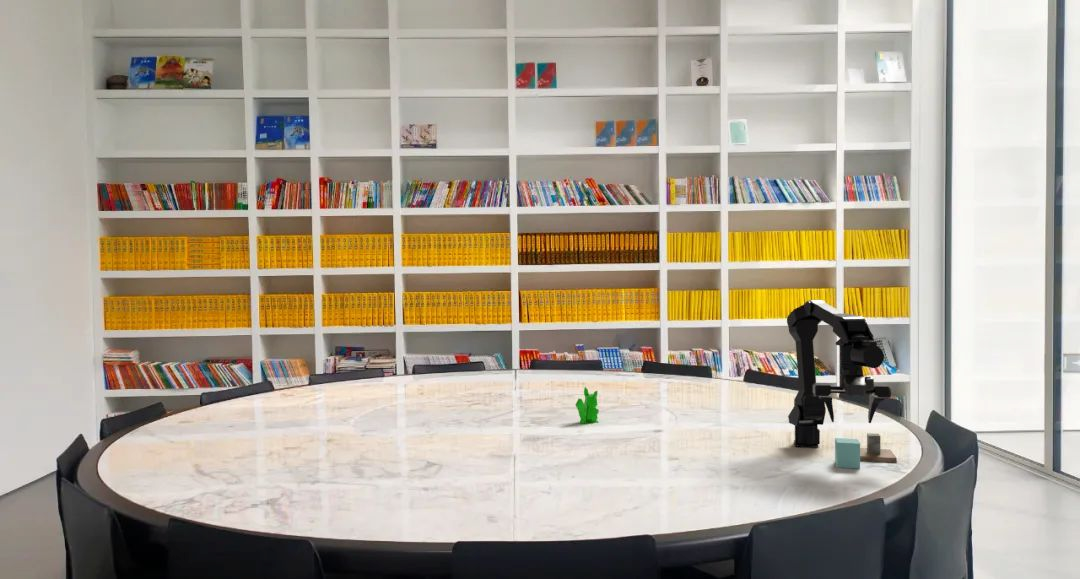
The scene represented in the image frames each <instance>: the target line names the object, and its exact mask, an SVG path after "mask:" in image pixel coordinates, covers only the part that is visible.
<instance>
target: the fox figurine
mask: <svg viewBox="0 0 1080 579" xmlns="http://www.w3.org/2000/svg"><path fill="white" fill-rule="evenodd" d="M583 396H584V400H583V399H582V398H578V399H577V401H576V403H575V407H576V409H577V411H578V416H579V417H580V418H579V419H580V420H579V423H580V425H585V424H588V423H589V424H590V423H591V424H593V423H594V424H595V423H599V421H598V418H599V417H598V414H599V411H600V409H598V408H597V406H598V405H599V403H598V390H596V391H594V392H593V393H590V394H589V391H588V388H587V387H586V386H584V390H583Z"/></svg>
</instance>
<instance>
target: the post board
mask: <svg viewBox="0 0 1080 579" xmlns="http://www.w3.org/2000/svg"><path fill="white" fill-rule="evenodd" d="M862 461H863V462H865V461H866V462H881V463H883V462H885V463H897V461H898V460H897V457H896V455H895V454H894V453H893V450H891V449H887V448H885V449H884V448H881V435H880V434H879V433H870V432H869V433H868V432H867V434H866V448H865V447H860V462H862Z"/></svg>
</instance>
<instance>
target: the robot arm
mask: <svg viewBox="0 0 1080 579" xmlns="http://www.w3.org/2000/svg"><path fill="white" fill-rule="evenodd" d="M821 322H824V323H825V324H826V325H829V326H830V327H831V328H832V332H833V333H834V334H835V335H836V336H837V337H838V338H839V339H838V340H837V341H836V342H835V346H839V347H838V348H839V354H838V356H839V357H838V358H839V362H838V363H839V372H838V373H839V378H838V379H839V385H831V384H830V383H829V382H817V377H816V376H817V374H816V373H817V372H816V364H815V362H816V361H815V351H814V348H815V347H814V339H815V337H816V336H817V334H818V332H819V331H818V330H819V324H820V323H821ZM786 323H787V327H788V333H789V334H790V336H791V337H792V338H793V340H794V341H795V351H796V353H795V354H796V364H797V379H798V380H797V381H798V391H797V394H796V396H795V397H794V399H793V404H794V405H793V408H792V409H791V410H790V412H789V414H788V416H787V418H788V424H790V425H793V426H794V440H793V443H794V447H802V446H807V448H818V447H819V445H820V444H821V440H820V439H821V434H820V432H821V431H820V428H818V425H821V426H822V425H824V423H825V422H824V421H825V416H826V414H827V412H828V415H829V418H830V421H831V422H832V423H835V416H834V415H835V412H834V408H833V397H832V396H831V394H845V395H846V396H850V397H852V396H859V397H863V396H866V395H869V398H868V399H869V400H868V411H867V412H868V415H867V420H868V423H869V424H872V421H873V419H874V415H875V413H876V410H877V408H878V406H879V404H881V402H882V401H886V398H889V399H890V398H892V388H890V386H888V385H887V384H885V383H875V380H874V379H875V378H874V376H868V375H867V376H864V371H863V370H864V367H865V368H870V369H877V368H879V367H881V366H882V364H883V363H884V361H885V354H884V351H883V350H882V348H881V347H879V346H878V343H877V341H876V340H875V338H874V334H873V333H872V331H871V330H870V329H871V328H870V327H869V324H868V323H867V321H866V318H865V317H863V316H861V315H856V314H849V313H844V312H843V311H841V310H840V309H837V308H835V307H833V306H832V305H830V304H828V303H826V301H824V300H822V299H811V300H810V299H809V300H808V301H805V302H804V303H803V304H802V305H800V306H798V307H796V308H794V309H793V310H792V311H791V312H790V313H789V314H788V315H787V317H786ZM826 411H827V412H826Z"/></svg>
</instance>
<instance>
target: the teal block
mask: <svg viewBox="0 0 1080 579" xmlns="http://www.w3.org/2000/svg"><path fill="white" fill-rule="evenodd" d="M860 448H861V443H860V441H859V439H858V438H842V437H840V438H839V437H835V438H834V462H835V465H837V466H836V467H837V468H842V469H843V468H847V469H861V461H860Z"/></svg>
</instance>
